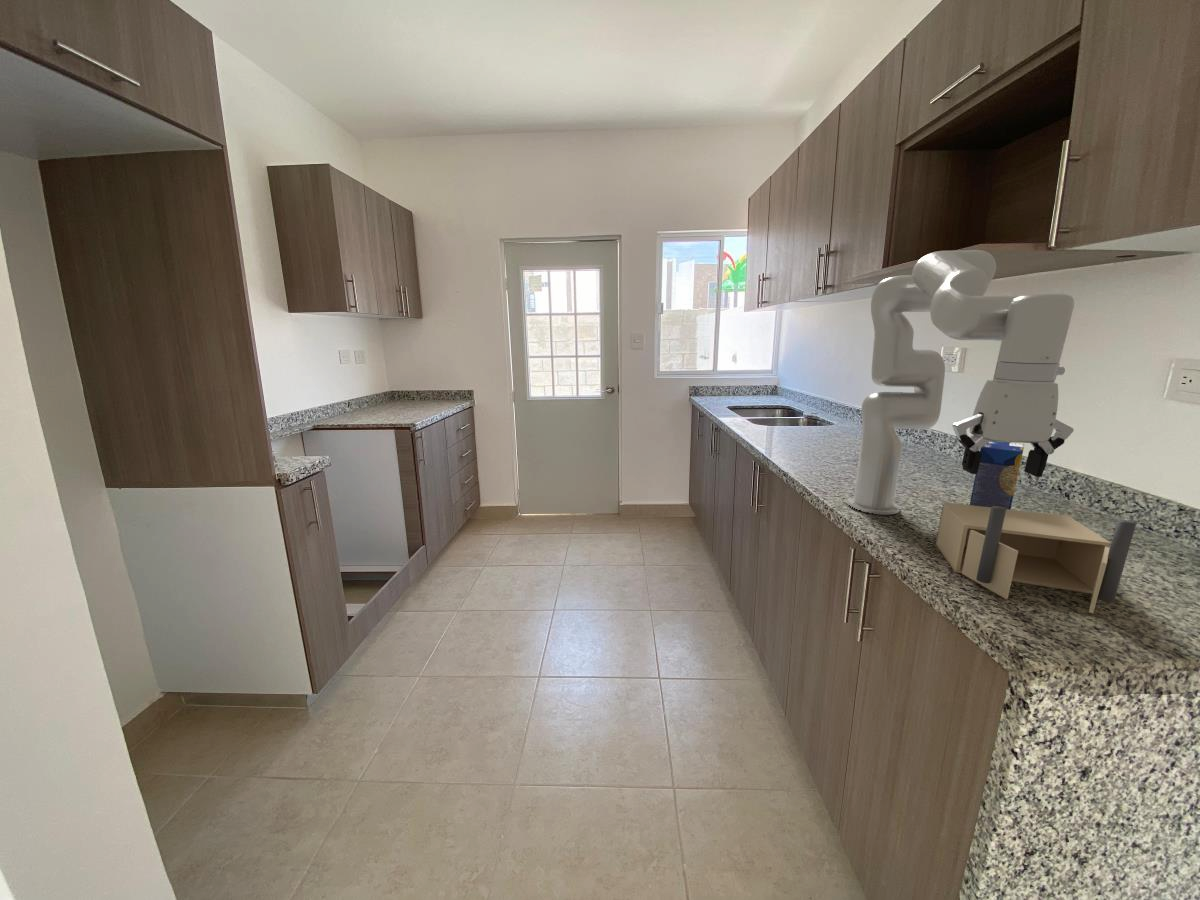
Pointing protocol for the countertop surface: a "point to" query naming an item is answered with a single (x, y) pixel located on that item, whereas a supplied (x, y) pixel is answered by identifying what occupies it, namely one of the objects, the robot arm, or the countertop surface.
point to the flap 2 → (1113, 564)
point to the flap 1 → (990, 556)
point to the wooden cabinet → (1029, 545)
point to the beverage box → (997, 474)
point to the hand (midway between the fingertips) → (1000, 473)
